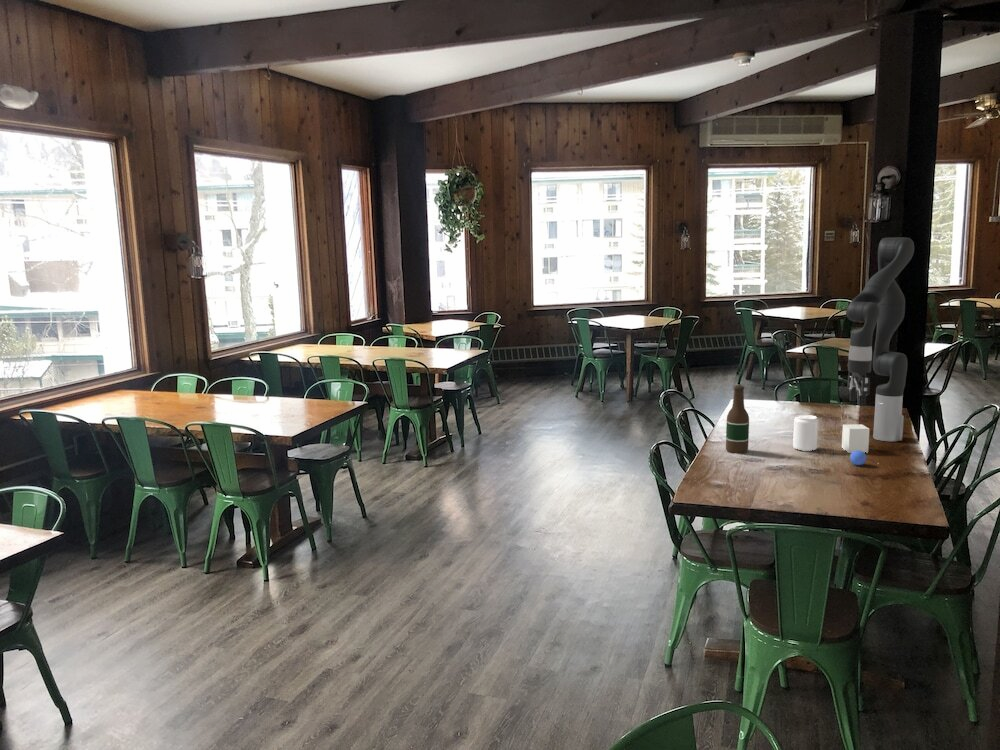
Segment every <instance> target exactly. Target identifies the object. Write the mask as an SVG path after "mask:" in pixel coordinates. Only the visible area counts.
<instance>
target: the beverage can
mask: <svg viewBox="0 0 1000 750" xmlns="http://www.w3.org/2000/svg"><path fill="white" fill-rule="evenodd" d="M818 432H819V420H818V417H817V416H815V415H811V414H797V415H796V416H795V418H794V419H793V436H792V438H793V440H792V447H793V449H795V450H797V449H798V450H797V451H799V450H802V451H801V452H813V451H815V450H817V449H818ZM812 450H813V451H812Z"/></svg>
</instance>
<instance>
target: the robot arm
mask: <svg viewBox="0 0 1000 750" xmlns="http://www.w3.org/2000/svg"><path fill="white" fill-rule="evenodd" d="M914 253H915V244H914V241H913V240H912V239H911V238H910V237H883V238H881V240H880V241H879V243H878V248H877V264H878V265H877V267H878V268H877V269H878V271H877V272H875V274H873V275H872V276H871V277H870V278H869V279H868V281H867V282H866V285H865V286H864V288H863V290H862V291H861V292H860V293H859V294H857V296H855V297H854V298H853V299H852V300H851V301H850V303H849V304H848V305H847V307H846V312H845V314H846V317H847V319H848V320H849V321H852V322H857V323H864V325H863V326H862V327H860V328H854V329H852V330H851V332H850V339H849V340H850V341H849V342H850V343H849V350H848V359H847V360H848V363H847V371H848V372H847V373H848V376H847V389H848V390H849V402H857V399H858V406H859V407H865V406H866V404H867V396H868V395H870V393H871V392H870V390H871V387H870V386H871V377H867V374H869V373H871V372H872V370H873V372H874V373H875V375H879V376H884V377H889V381H888V382H887V383H882V384H879V385H877V386H876V388H875V399H874V400H875V401H874V404H875V405H874V417H873V432H872V434H873V435H872V438H873V439H874V440H876V441H877V440H878V441H882V442H899V441H903V434H904V432H903V431H904V421H905V419H904V417H905V416H904V415H903V401H904V400H903V397H904V390H905V387H906V383H907V382H906V380H907V373H908V358H907V355H906V354H904V353H902V352H897V351H890V342H891V339H892V337H893V335H894V333H895V332H896V331H897V329H898V327H900V325H901V324H902V322H903V321H904V318H905V313H906V312H905V311H906V299H905V298H906V297H905V295H904V293H903V292H902V290H901V287H900V286H899V284H898V283H897V281H896V280H895V279H896V278H897V277H898V276H899V275H900V274H901V272H902V271H903V270H904V269H905V267H906V266H907V265H908V264H909V263H910V262H911V260H912V258H913V256H914ZM875 329H876V332H875V333H876V334H875V342H874V349H873V336H874V331H875ZM872 368H873V369H872ZM857 395H858V396H857ZM857 397H858V398H857Z"/></svg>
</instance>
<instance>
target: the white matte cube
mask: <svg viewBox="0 0 1000 750" xmlns="http://www.w3.org/2000/svg"><path fill="white" fill-rule="evenodd" d="M841 434H842V435H841V449H842V448H843V449H842V450H844V451H845V450H846V451H847V452H846V451H845V452H846V453H848V454H851V453H852V452H854V451H856V450H859V451H862V452H864V453H865V452H866V453H865V454H868V453H869V444H870V443H869V442H870V428H869V427H867V426H865V425H864V424H862V423H861V424H842V433H841Z"/></svg>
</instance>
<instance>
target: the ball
mask: <svg viewBox="0 0 1000 750" xmlns="http://www.w3.org/2000/svg"><path fill="white" fill-rule="evenodd" d="M849 460H850V462H851V463H852V464H853V465H855V466H862V465H864V464H865V463H866V461H867V456H866V453H864V452H862V451H859V450H856V451H854V452H852V453H850V455H849Z"/></svg>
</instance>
